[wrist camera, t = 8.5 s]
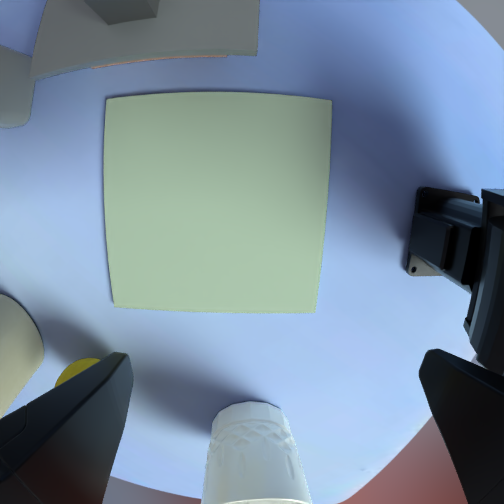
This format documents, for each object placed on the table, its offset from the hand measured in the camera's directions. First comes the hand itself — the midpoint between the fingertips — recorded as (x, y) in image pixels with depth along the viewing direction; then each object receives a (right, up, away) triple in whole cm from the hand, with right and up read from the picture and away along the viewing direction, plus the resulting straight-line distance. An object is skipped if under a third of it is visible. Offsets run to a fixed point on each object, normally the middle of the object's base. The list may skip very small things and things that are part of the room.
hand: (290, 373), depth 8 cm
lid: (-7, +18, +2) cm, 20 cm away
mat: (-3, +6, +10) cm, 13 cm away
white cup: (-1, -12, +16) cm, 20 cm away
